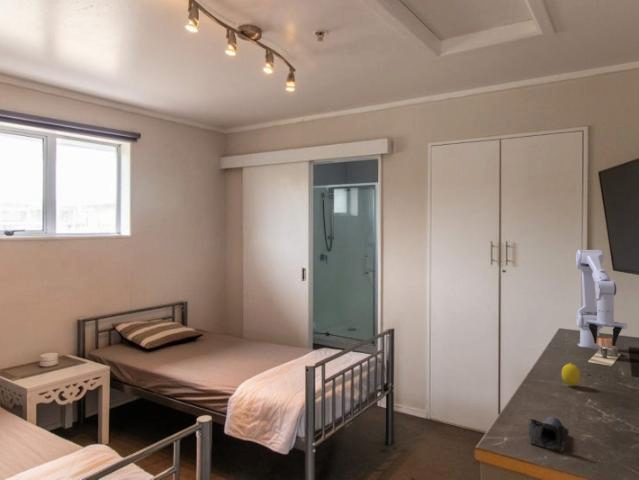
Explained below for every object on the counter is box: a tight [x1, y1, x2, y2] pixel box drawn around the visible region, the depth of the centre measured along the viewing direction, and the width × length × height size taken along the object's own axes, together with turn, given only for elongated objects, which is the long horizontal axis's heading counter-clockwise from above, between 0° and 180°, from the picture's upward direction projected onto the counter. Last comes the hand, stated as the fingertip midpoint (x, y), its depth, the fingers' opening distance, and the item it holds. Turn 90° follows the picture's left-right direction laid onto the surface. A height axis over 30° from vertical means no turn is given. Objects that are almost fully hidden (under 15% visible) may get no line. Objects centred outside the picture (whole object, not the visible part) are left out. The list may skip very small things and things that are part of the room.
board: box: [587, 345, 621, 367], centre depth 184 cm, size 21×8×5 cm, turn 139°
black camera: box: [527, 416, 570, 453], centre depth 117 cm, size 9×8×12 cm
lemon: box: [561, 362, 581, 387], centre depth 155 cm, size 6×6×8 cm
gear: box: [596, 335, 613, 347], centre depth 184 cm, size 6×6×3 cm
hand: (604, 344), depth 184 cm, fingers closed on gear, 6 cm apart
